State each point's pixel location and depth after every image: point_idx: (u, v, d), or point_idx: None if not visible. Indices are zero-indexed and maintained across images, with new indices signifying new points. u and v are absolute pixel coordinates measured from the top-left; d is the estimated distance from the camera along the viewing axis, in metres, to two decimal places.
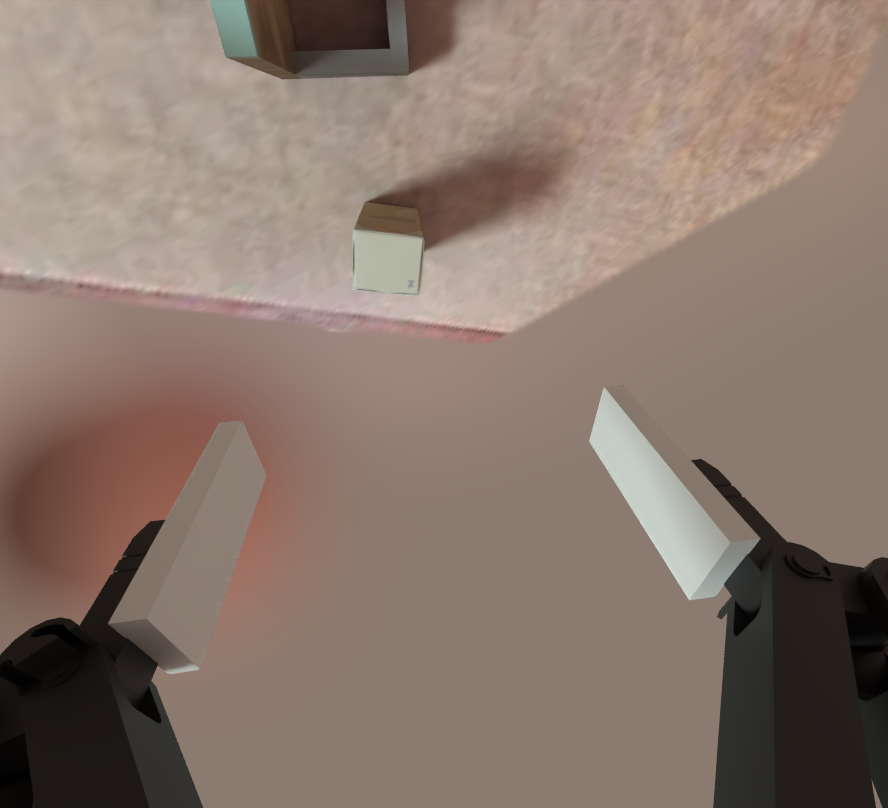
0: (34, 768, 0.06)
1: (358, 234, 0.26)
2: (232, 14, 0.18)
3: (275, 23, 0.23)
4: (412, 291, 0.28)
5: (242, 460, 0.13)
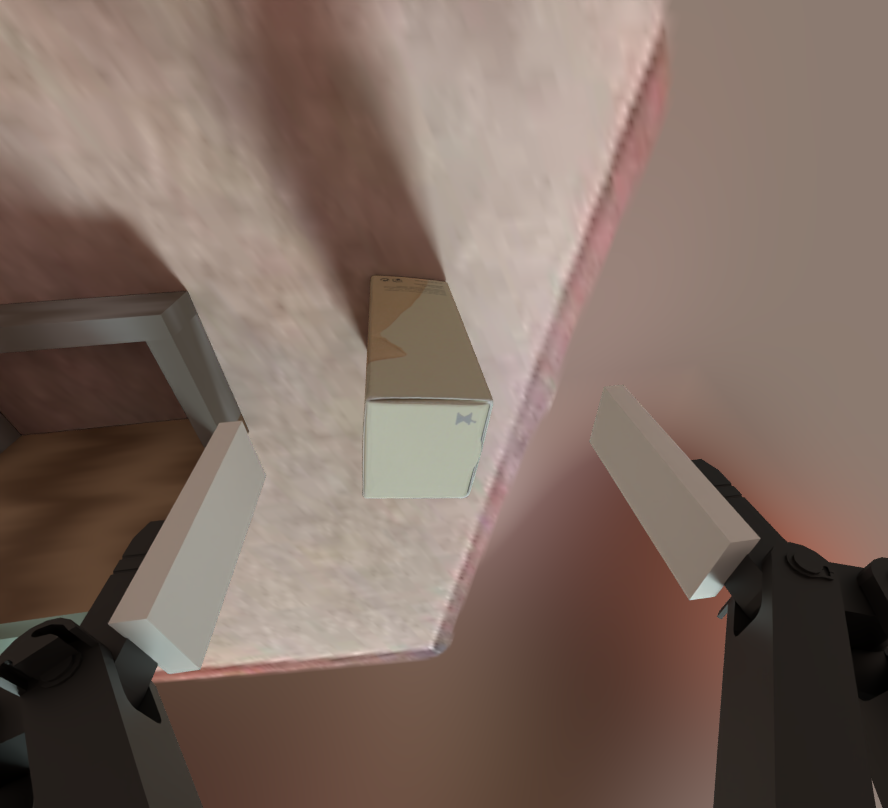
0: (34, 768, 0.06)
1: (370, 494, 0.14)
2: None
3: (163, 490, 0.19)
4: (481, 414, 0.13)
5: (242, 460, 0.13)
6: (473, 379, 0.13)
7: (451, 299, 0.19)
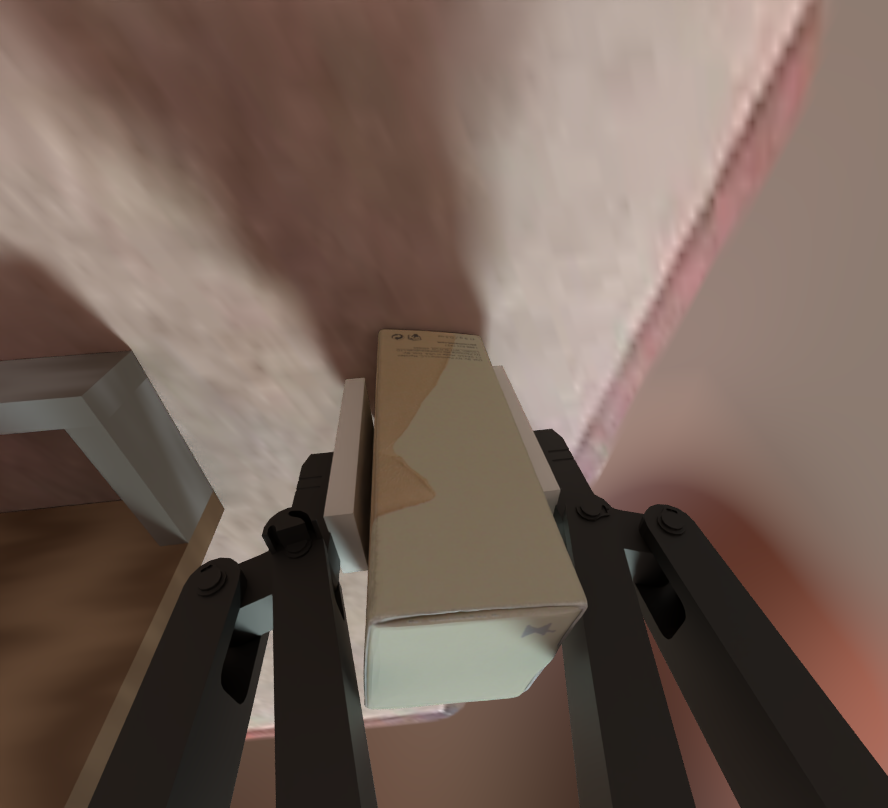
0: (274, 613, 0.08)
1: (377, 706, 0.09)
2: None
3: (96, 621, 0.14)
4: (566, 622, 0.07)
5: (367, 411, 0.15)
6: (547, 549, 0.08)
7: (489, 367, 0.14)
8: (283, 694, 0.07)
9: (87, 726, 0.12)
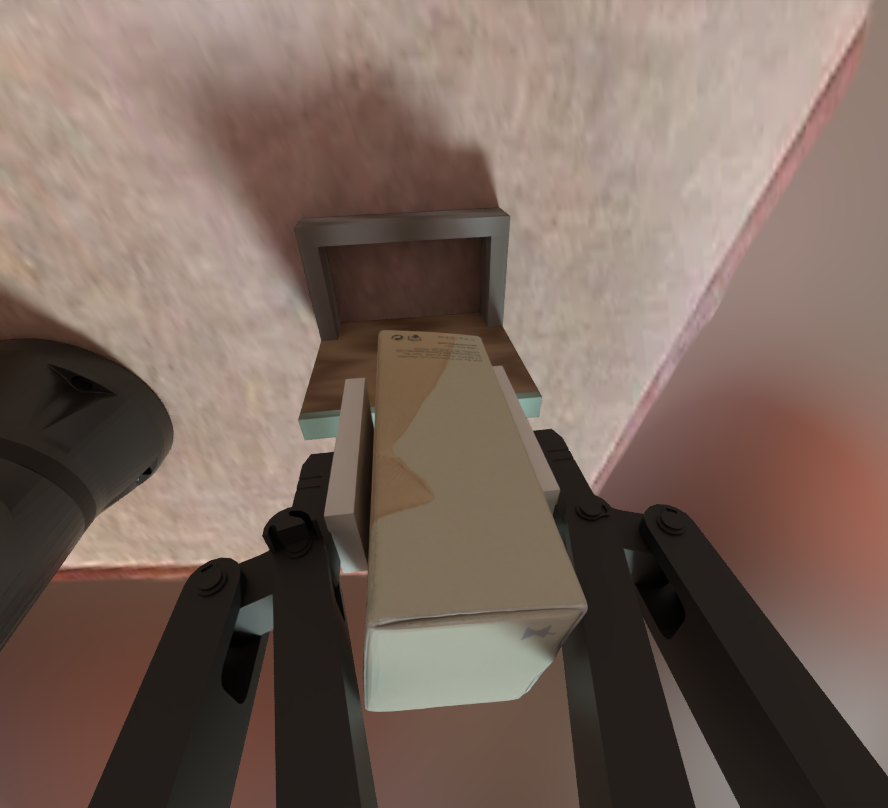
0: (274, 612, 0.08)
1: (377, 708, 0.09)
2: None
3: None
4: (566, 625, 0.07)
5: (367, 411, 0.15)
6: (547, 551, 0.08)
7: (490, 368, 0.14)
8: (283, 694, 0.07)
9: (518, 368, 0.25)
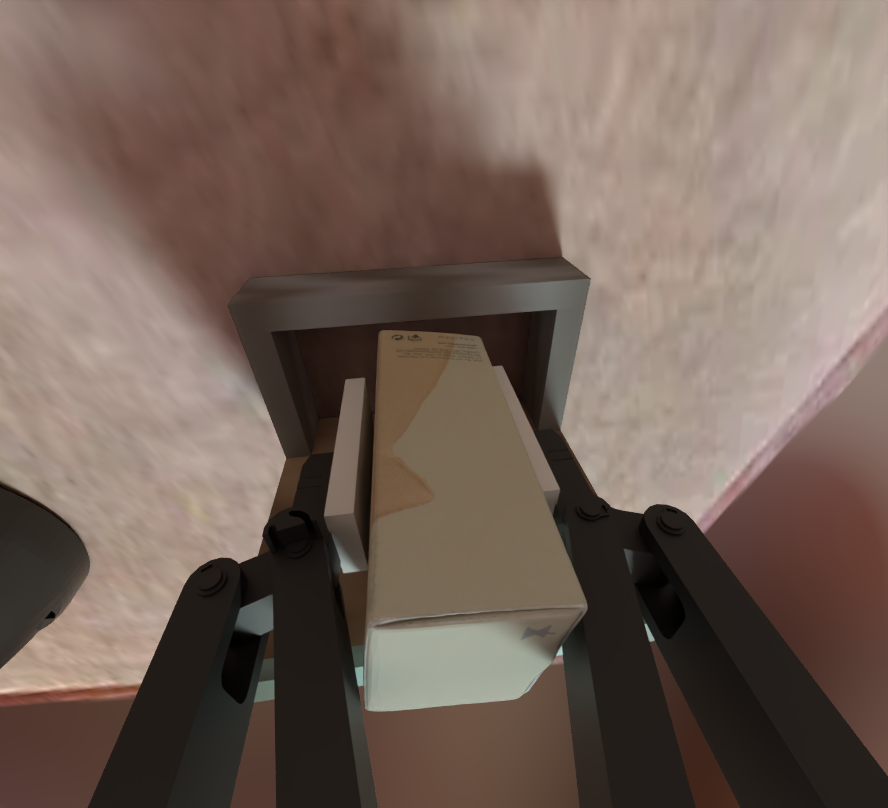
0: (274, 613, 0.08)
1: (376, 709, 0.09)
2: None
3: None
4: (566, 625, 0.07)
5: (367, 411, 0.15)
6: (547, 550, 0.08)
7: (490, 368, 0.14)
8: (283, 694, 0.07)
9: None
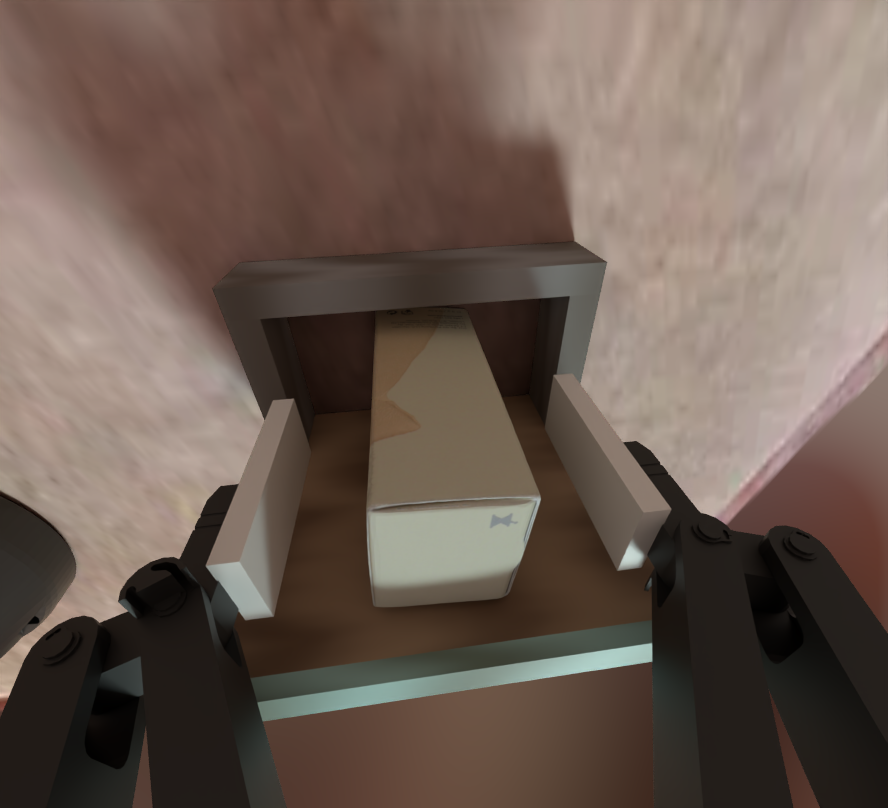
0: (145, 684, 0.07)
1: (382, 604, 0.11)
2: (641, 653, 0.12)
3: (549, 477, 0.16)
4: (525, 513, 0.09)
5: (295, 435, 0.14)
6: (510, 461, 0.10)
7: (473, 333, 0.16)
8: (162, 771, 0.06)
9: None
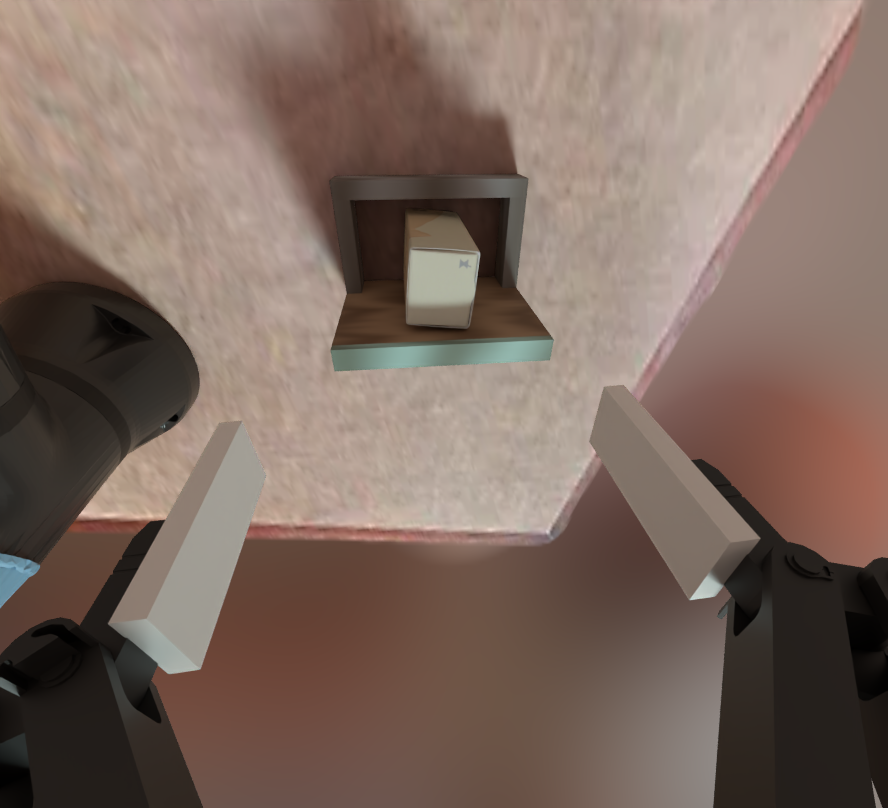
0: (34, 768, 0.06)
1: (410, 319, 0.24)
2: (529, 349, 0.25)
3: (499, 302, 0.30)
4: (473, 261, 0.23)
5: (242, 460, 0.13)
6: (469, 245, 0.23)
7: (459, 219, 0.29)
8: None
9: (531, 319, 0.27)
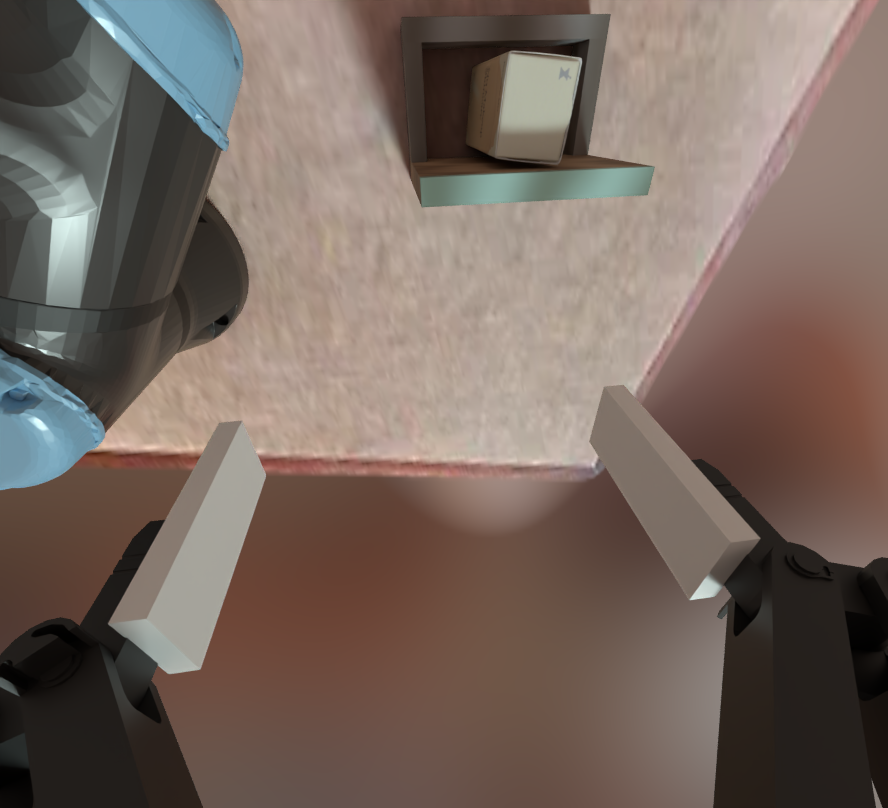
0: (34, 769, 0.06)
1: (500, 151, 0.23)
2: (628, 180, 0.23)
3: (576, 159, 0.28)
4: (574, 70, 0.21)
5: (242, 460, 0.13)
6: None
7: None
8: None
9: (620, 162, 0.25)
